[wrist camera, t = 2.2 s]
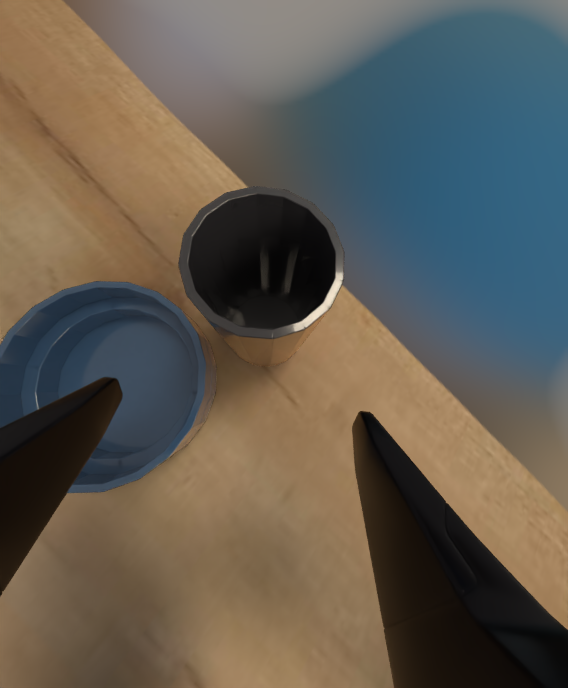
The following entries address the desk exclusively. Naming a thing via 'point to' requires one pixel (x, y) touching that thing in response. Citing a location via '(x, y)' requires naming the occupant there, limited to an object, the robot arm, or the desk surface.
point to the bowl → (113, 373)
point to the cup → (262, 270)
